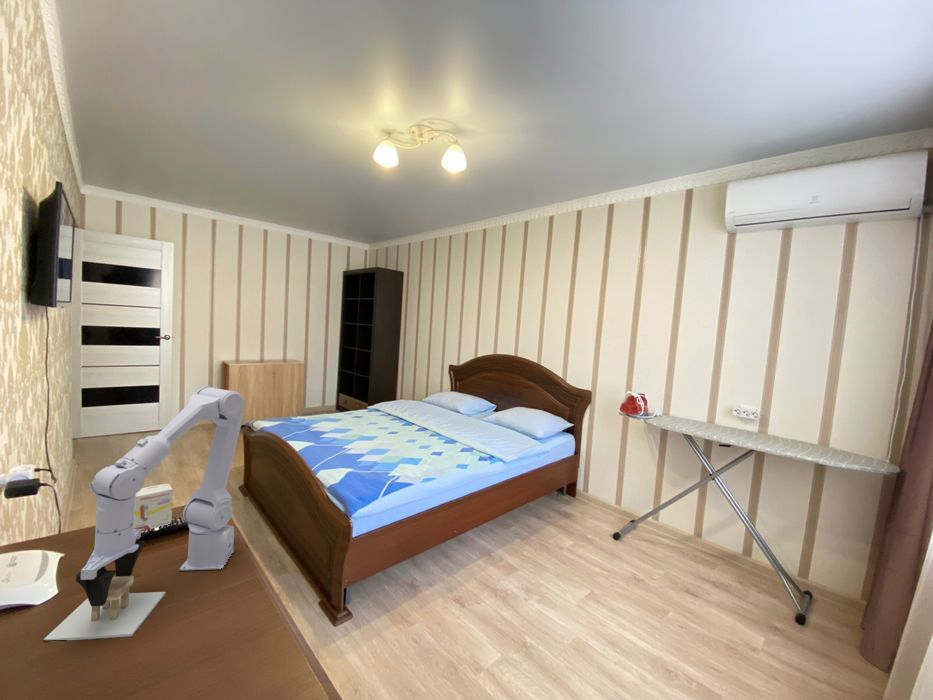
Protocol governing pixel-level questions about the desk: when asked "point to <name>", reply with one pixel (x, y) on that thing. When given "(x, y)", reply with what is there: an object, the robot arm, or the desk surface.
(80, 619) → the light grey mat
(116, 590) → the birch stool
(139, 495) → the ink box
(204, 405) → the robot arm
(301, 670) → the desk surface
